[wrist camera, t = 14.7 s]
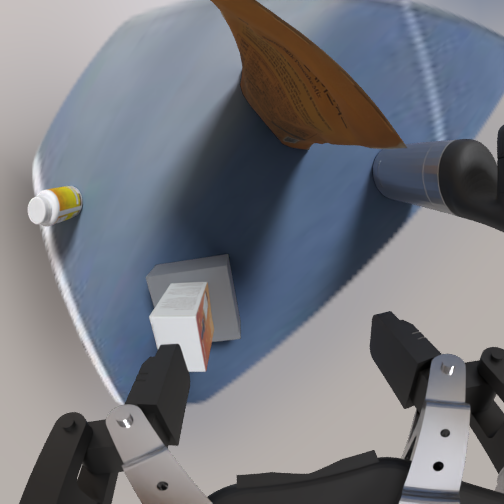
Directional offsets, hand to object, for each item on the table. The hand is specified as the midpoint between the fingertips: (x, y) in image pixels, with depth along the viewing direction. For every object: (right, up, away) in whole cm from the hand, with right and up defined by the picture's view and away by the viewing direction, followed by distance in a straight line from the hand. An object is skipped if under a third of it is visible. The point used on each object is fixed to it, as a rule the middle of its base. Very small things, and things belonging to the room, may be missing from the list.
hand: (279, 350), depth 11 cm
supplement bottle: (-32, +13, +30) cm, 46 cm away
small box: (-10, -4, +29) cm, 31 cm away
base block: (-10, -3, +35) cm, 37 cm away
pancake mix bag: (+2, +25, +28) cm, 37 cm away
